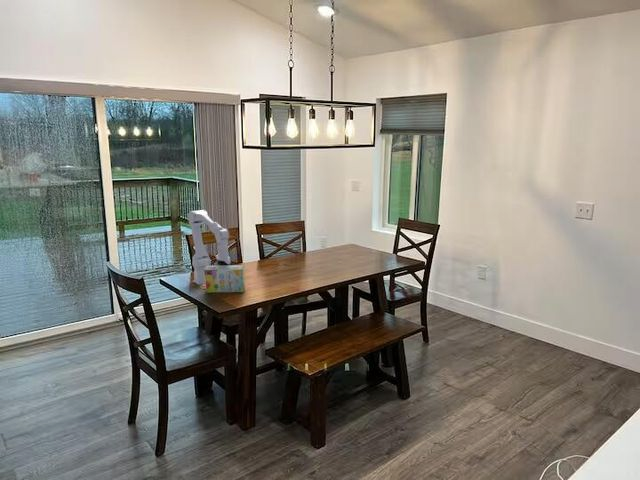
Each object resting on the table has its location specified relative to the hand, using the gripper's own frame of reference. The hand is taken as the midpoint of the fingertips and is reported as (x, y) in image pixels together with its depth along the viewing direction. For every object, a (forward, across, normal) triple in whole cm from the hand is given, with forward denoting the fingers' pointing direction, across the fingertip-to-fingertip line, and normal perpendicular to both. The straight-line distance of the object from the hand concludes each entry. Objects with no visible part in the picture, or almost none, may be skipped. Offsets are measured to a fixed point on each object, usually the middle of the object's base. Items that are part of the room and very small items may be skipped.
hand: (223, 273), depth 264 cm
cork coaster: (+10, +12, +5) cm, 16 cm away
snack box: (+10, -2, 0) cm, 10 cm away
